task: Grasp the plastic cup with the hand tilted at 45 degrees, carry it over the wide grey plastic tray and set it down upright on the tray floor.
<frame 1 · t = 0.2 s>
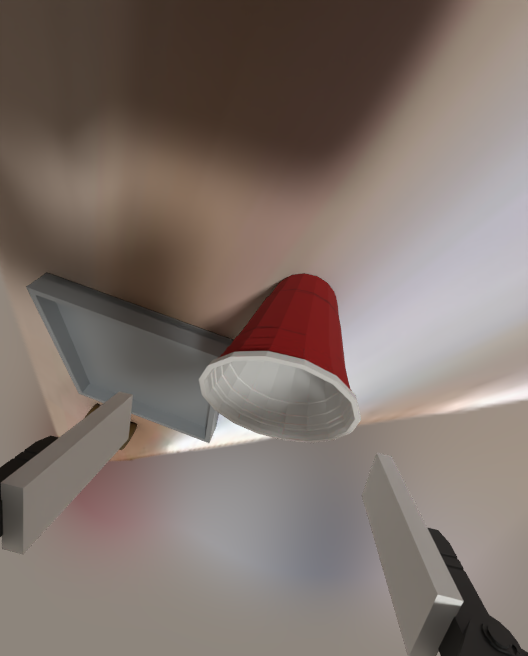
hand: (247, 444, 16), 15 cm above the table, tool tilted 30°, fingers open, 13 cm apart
grey tray: (147, 364, 44), on the table
kendama: (116, 419, 65), on the table
plastic cup: (306, 299, 28), on the table
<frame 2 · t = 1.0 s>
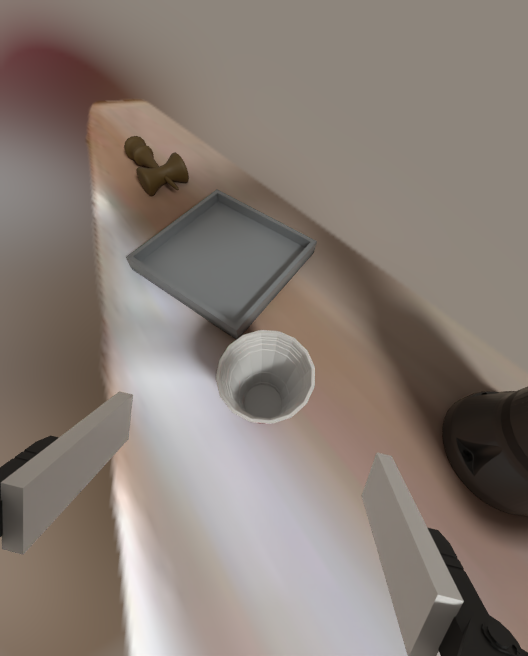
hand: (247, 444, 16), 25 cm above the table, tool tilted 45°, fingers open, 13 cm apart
grey tray: (226, 260, 55), on the table
kendama: (158, 179, 67), on the table
plastic cup: (260, 403, 42), on the table
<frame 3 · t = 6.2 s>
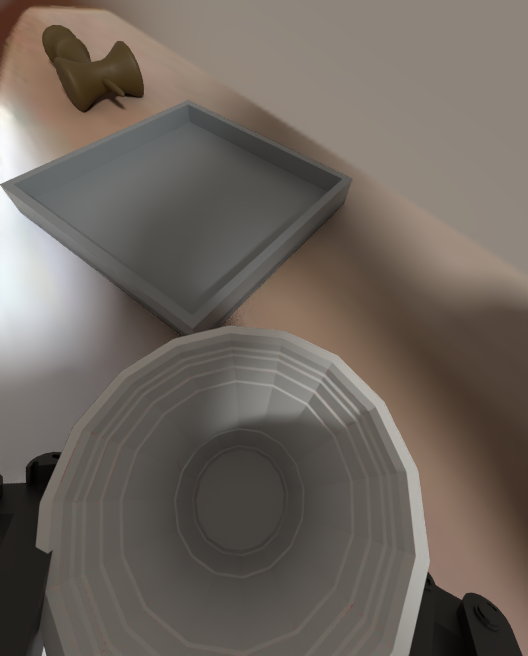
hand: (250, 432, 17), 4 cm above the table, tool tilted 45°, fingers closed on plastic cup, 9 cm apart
grey tray: (193, 207, 32), on the table
kendama: (98, 94, 44), on the table
plastic cup: (236, 497, 19), on the table, touching gripper
when the fingers open (5 cm above the table, at t = 14.1 s): plastic cup stays where it is, resting on grey tray.
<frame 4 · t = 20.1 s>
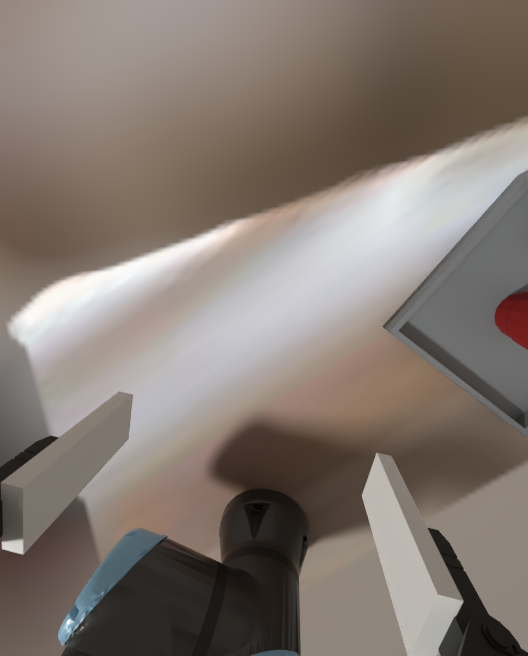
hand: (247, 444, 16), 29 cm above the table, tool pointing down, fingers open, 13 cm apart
grey tray: (513, 311, 40), on the table
plastic cup: (516, 312, 39), point 1 cm above the table, touching grey tray
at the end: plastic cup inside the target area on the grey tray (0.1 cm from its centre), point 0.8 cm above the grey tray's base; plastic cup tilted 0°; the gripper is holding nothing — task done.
